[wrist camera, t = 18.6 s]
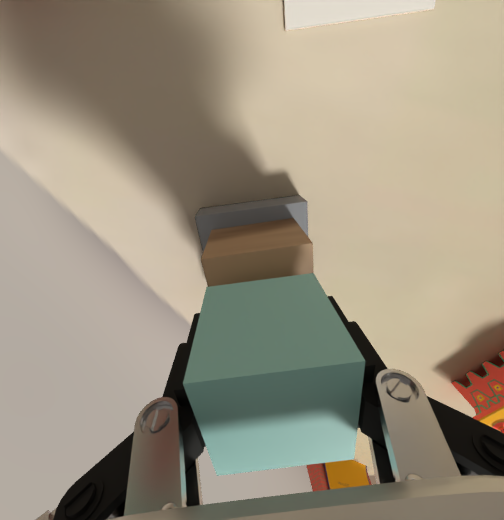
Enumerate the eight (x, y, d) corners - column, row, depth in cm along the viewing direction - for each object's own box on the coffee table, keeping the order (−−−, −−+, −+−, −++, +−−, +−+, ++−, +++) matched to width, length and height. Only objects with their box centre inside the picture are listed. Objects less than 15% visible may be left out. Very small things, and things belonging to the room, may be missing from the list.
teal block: (206, 287, 11) (182, 383, 6) (313, 273, 11) (365, 360, 6) (225, 362, 13) (217, 475, 9) (314, 351, 13) (353, 459, 8)
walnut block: (211, 229, 17) (200, 259, 13) (293, 217, 17) (312, 242, 12) (226, 297, 20) (222, 342, 15) (297, 287, 19) (315, 329, 15)
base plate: (200, 208, 19) (194, 216, 17) (299, 195, 19) (307, 201, 16) (218, 291, 22) (216, 307, 20) (302, 280, 22) (309, 295, 20)
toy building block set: (303, 453, 35) (338, 624, 23) (532, 298, 24) (853, 463, 12) (357, 475, 39) (413, 633, 26) (577, 349, 28) (858, 517, 15)
